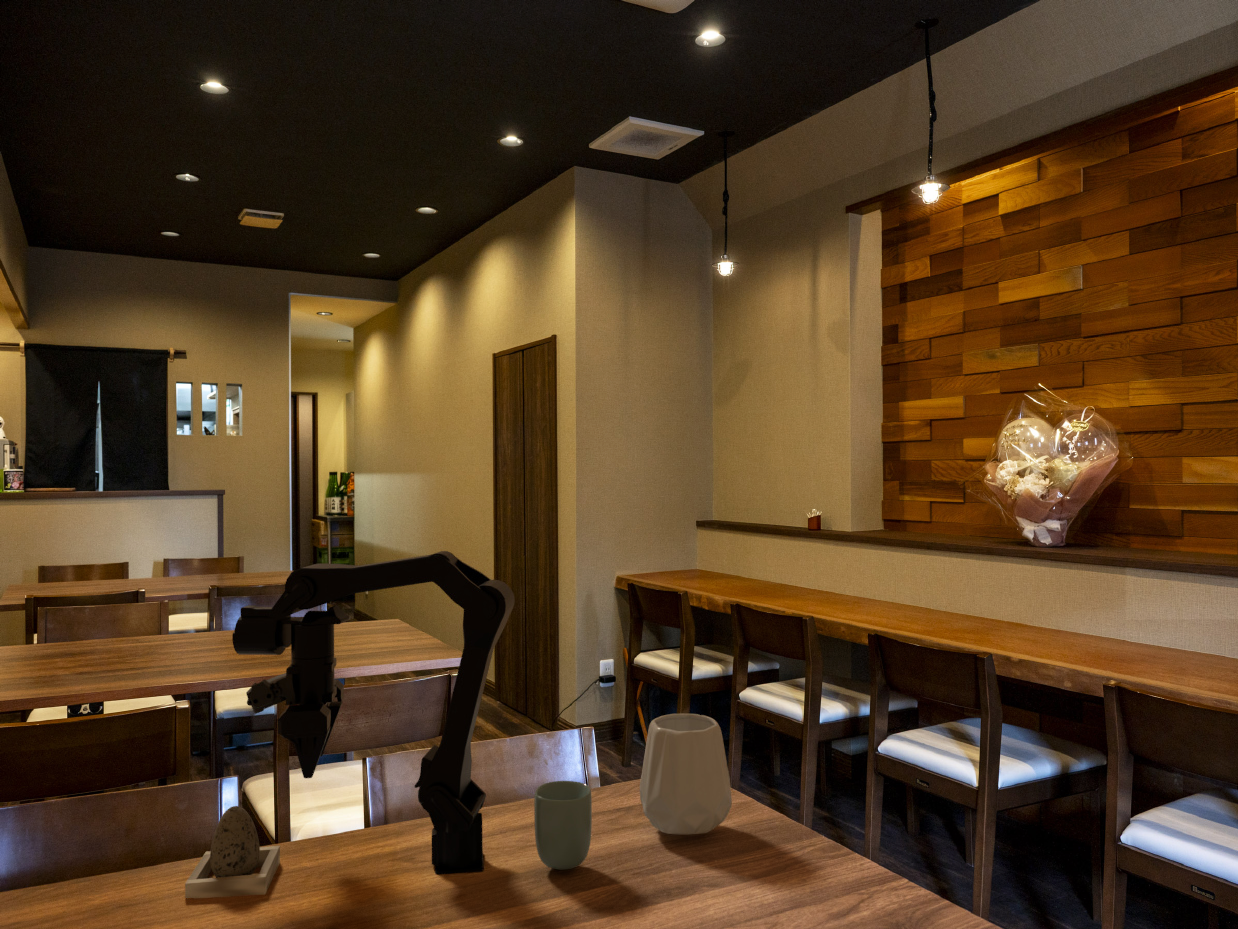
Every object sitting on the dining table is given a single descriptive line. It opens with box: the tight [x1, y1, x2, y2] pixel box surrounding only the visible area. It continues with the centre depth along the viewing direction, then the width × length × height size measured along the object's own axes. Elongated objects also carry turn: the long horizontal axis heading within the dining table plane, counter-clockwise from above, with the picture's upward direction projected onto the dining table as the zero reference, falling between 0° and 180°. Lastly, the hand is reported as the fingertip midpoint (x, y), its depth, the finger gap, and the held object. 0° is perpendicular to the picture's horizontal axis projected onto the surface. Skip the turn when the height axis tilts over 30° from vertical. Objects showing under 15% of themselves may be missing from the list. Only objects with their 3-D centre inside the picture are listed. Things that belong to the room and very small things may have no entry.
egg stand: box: [184, 845, 281, 899], centre depth 118 cm, size 10×10×2 cm
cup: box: [533, 780, 593, 871], centre depth 123 cm, size 8×8×10 cm
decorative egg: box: [210, 805, 261, 878], centre depth 118 cm, size 6×6×10 cm
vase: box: [639, 712, 733, 835], centre depth 137 cm, size 14×14×15 cm
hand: (313, 766), depth 126 cm, fingers open, 9 cm apart
